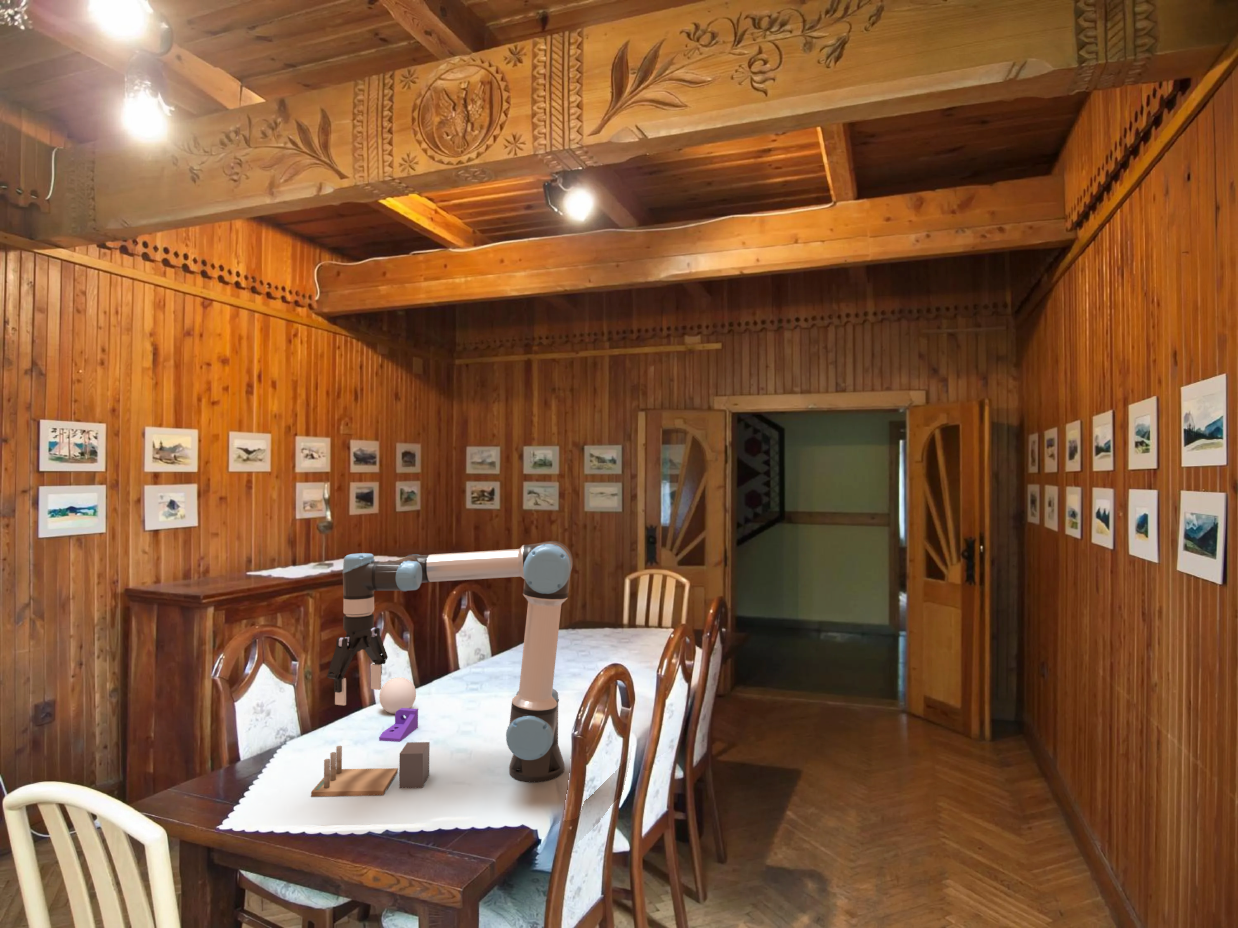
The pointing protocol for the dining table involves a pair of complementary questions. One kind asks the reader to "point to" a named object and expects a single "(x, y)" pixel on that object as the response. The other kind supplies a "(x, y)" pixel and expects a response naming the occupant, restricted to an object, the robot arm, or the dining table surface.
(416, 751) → the block
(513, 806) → the dining table surface
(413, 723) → the bracket
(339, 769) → the board
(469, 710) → the dining table surface
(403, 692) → the decorative ball
